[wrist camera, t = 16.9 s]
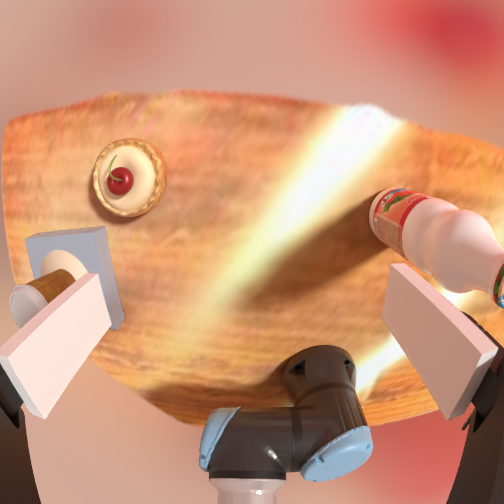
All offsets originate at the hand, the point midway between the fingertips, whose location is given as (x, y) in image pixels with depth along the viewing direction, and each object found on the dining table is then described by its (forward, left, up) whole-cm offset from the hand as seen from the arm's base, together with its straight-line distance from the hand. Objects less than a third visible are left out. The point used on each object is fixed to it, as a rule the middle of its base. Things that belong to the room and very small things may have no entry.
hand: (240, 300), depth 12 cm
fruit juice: (-3, -23, -32) cm, 39 cm away
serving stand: (-12, +34, -32) cm, 48 cm away
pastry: (+5, +18, -32) cm, 37 cm away
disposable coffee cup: (-12, +34, -28) cm, 45 cm away
